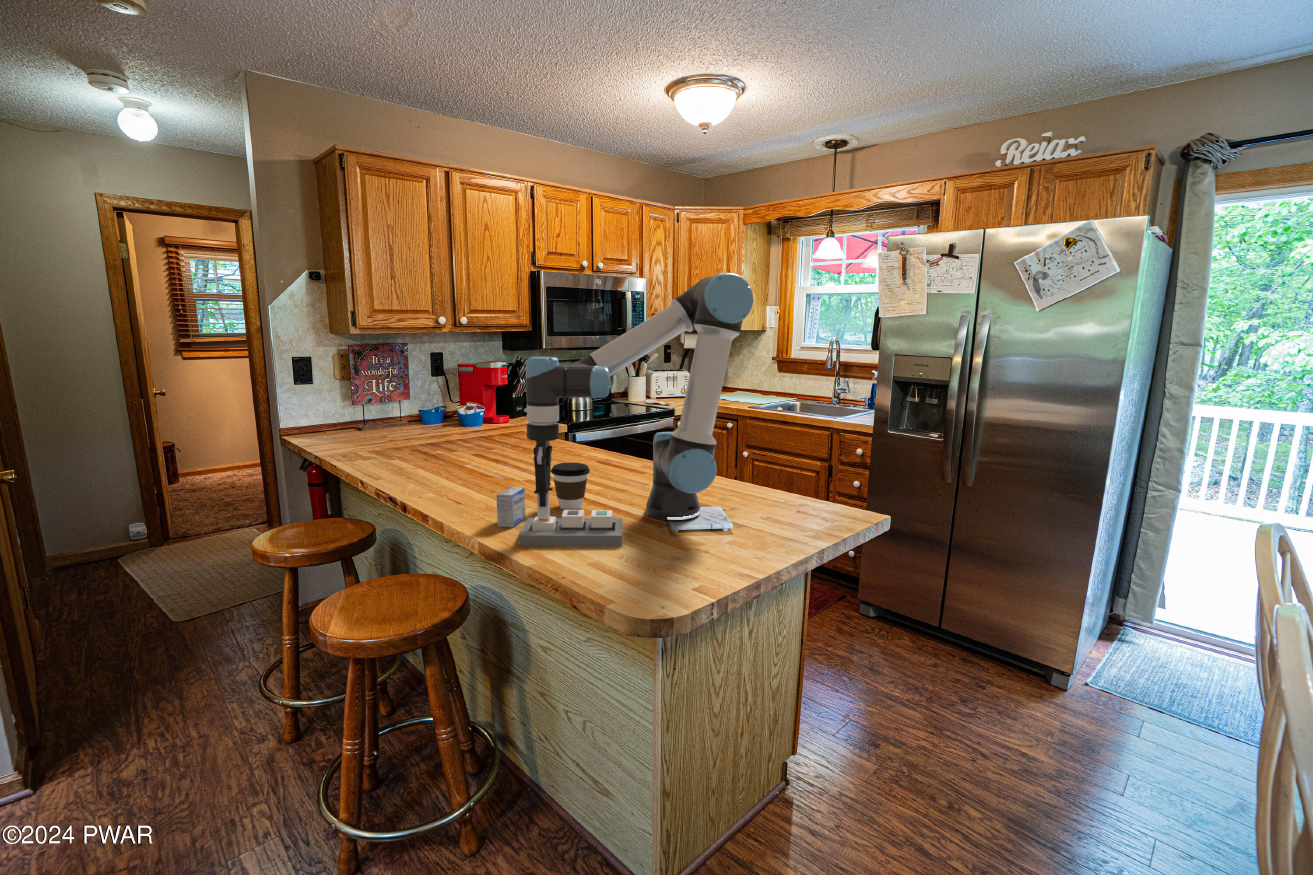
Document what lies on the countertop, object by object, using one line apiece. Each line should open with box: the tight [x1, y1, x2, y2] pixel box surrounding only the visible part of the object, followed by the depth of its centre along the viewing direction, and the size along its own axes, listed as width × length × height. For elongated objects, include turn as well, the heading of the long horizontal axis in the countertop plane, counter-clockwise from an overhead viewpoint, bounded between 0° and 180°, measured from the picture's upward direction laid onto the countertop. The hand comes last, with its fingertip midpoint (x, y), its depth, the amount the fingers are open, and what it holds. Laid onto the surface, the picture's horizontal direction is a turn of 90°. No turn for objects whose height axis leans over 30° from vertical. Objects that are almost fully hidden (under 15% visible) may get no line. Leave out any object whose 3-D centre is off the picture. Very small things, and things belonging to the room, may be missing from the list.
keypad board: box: [518, 517, 623, 547], centre depth 145 cm, size 24×13×3 cm, turn 93°
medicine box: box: [496, 486, 526, 529], centre depth 154 cm, size 8×4×9 cm, turn 168°
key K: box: [561, 509, 585, 528], centre depth 145 cm, size 5×5×3 cm
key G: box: [532, 516, 557, 531], centre depth 145 cm, size 5×5×3 cm
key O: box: [590, 509, 613, 528], centre depth 145 cm, size 5×5×3 cm
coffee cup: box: [551, 462, 591, 511], centre depth 169 cm, size 11×11×12 cm
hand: (543, 517), depth 144 cm, fingers closed
